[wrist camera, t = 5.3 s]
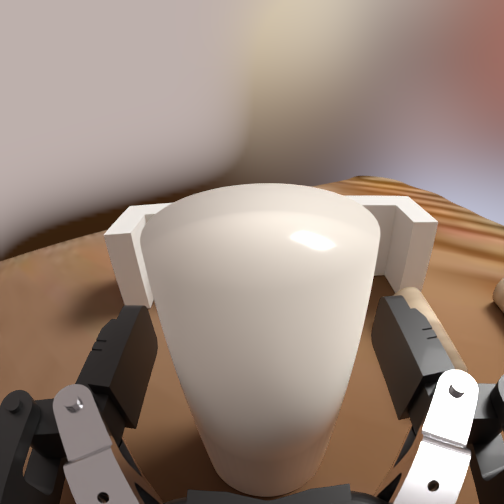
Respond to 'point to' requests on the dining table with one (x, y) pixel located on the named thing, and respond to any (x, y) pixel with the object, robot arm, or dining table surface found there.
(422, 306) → the roller
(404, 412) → the robot arm
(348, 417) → the dining table surface
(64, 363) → the dining table surface
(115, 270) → the stop rail
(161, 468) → the dining table surface
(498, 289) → the roller
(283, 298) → the white pillar candle
